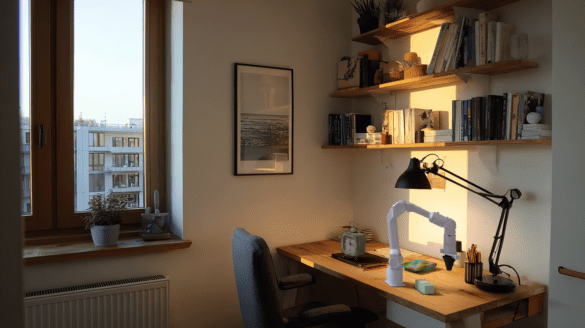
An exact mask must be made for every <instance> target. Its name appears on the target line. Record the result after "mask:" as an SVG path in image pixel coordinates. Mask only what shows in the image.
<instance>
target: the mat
mask: <svg viewBox="0 0 585 328" xmlns="http://www.w3.org/2000/svg"><path fill="white" fill-rule="evenodd" d="M412 289H413V290H415V291H417V292H418V293H419V294H421V295H425V294H424V293H422V292H421V291H420V290H418V289H417V288H415V286H413V287H412ZM433 295H436V292H435V291H434V294H433Z"/></svg>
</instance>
